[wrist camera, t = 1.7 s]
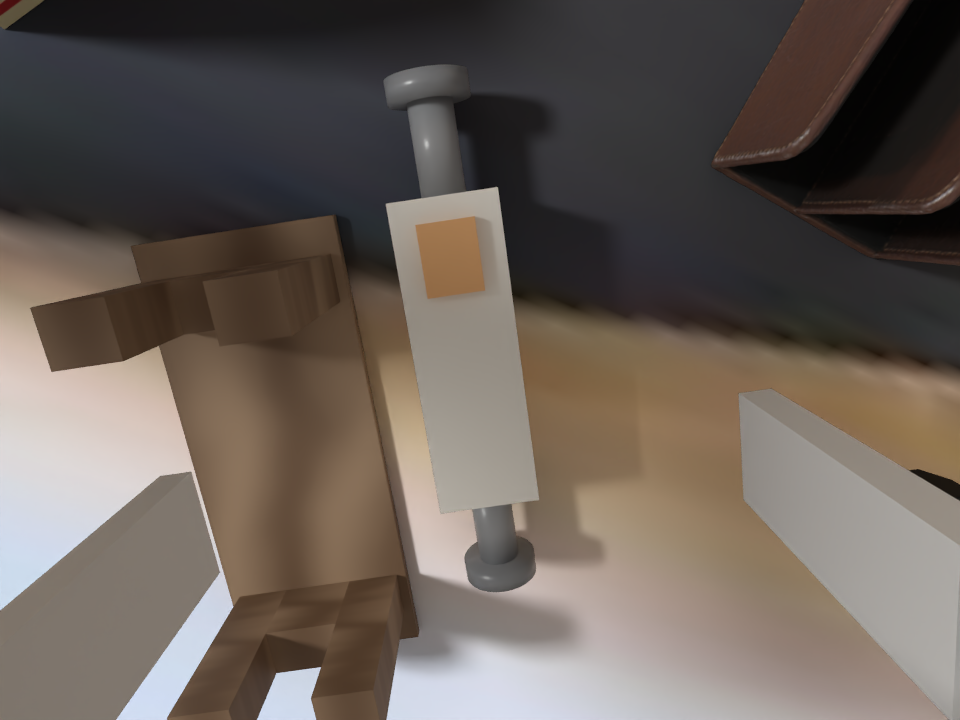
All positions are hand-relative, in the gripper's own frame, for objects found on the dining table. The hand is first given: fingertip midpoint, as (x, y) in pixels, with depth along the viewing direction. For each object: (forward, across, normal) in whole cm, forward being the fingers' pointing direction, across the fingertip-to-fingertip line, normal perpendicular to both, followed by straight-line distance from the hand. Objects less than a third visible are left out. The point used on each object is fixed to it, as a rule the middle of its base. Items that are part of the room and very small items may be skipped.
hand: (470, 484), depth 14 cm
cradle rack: (+17, -11, -5) cm, 21 cm away
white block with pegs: (+18, 0, 0) cm, 18 cm away
